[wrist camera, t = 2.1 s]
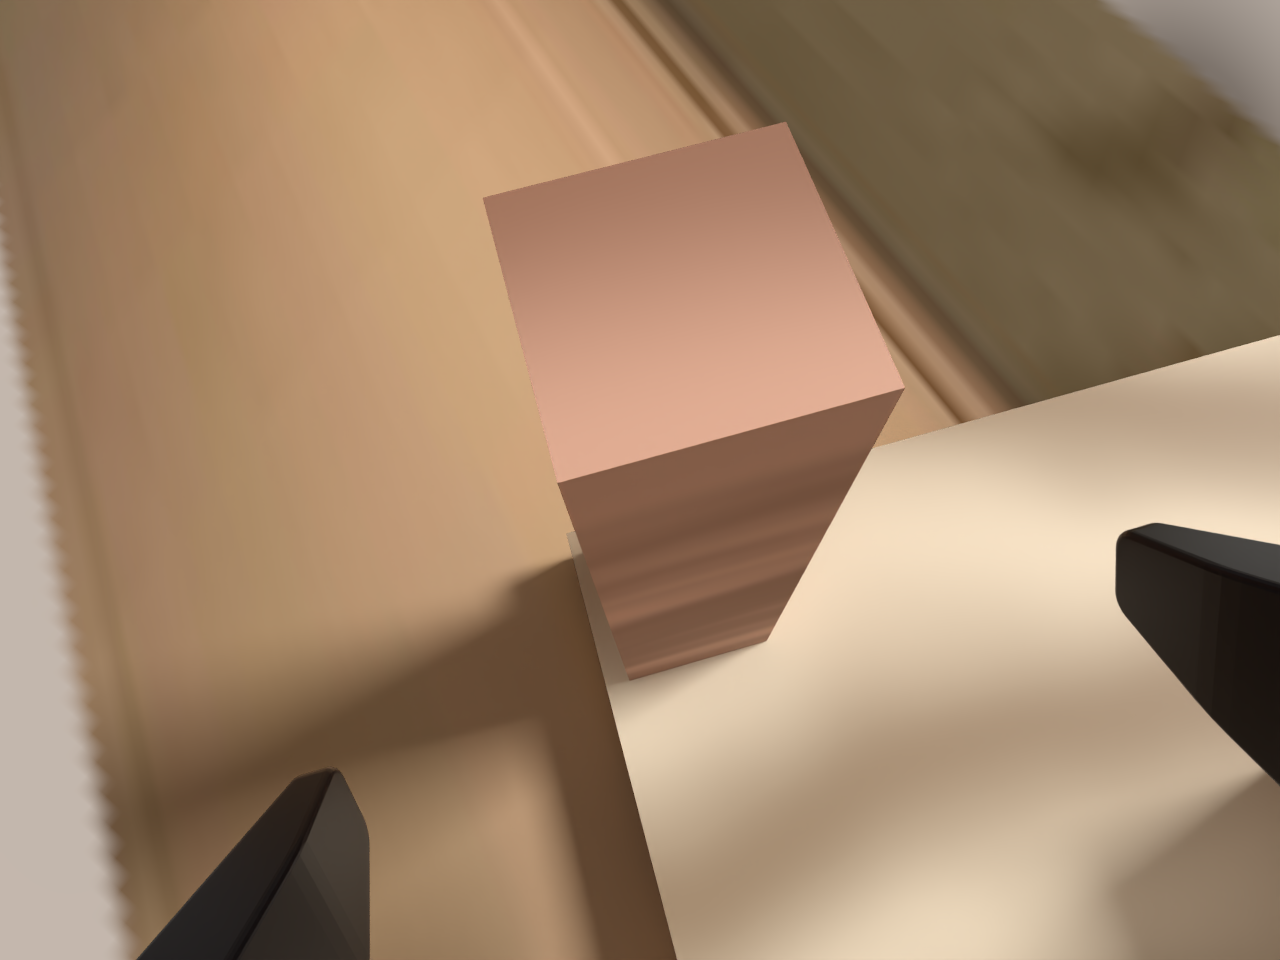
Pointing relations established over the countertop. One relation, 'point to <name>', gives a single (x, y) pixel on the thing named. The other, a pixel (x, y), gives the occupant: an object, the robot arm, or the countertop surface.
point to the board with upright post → (880, 595)
